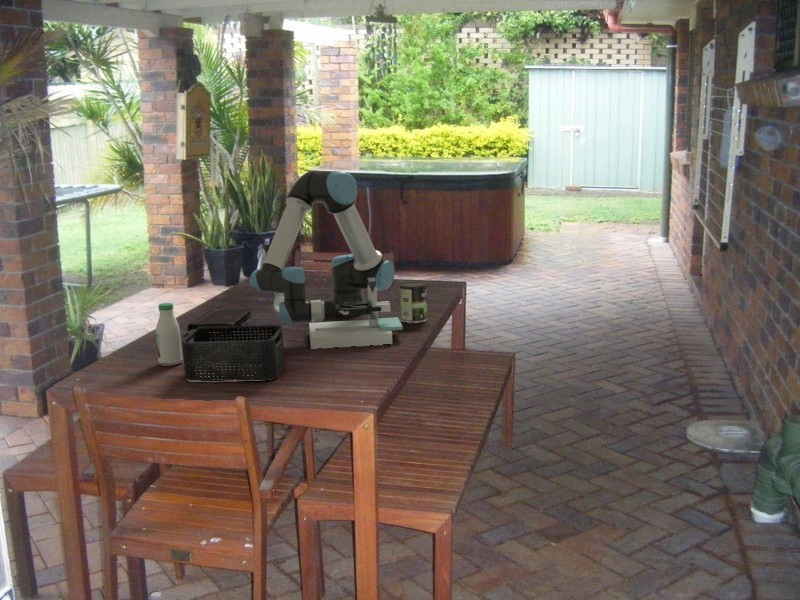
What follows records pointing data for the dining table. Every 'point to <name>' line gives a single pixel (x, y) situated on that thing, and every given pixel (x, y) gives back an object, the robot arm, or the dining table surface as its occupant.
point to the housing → (346, 334)
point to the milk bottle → (168, 335)
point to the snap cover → (389, 324)
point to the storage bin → (234, 353)
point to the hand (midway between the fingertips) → (389, 306)
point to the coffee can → (413, 302)
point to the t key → (372, 302)
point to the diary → (222, 318)
